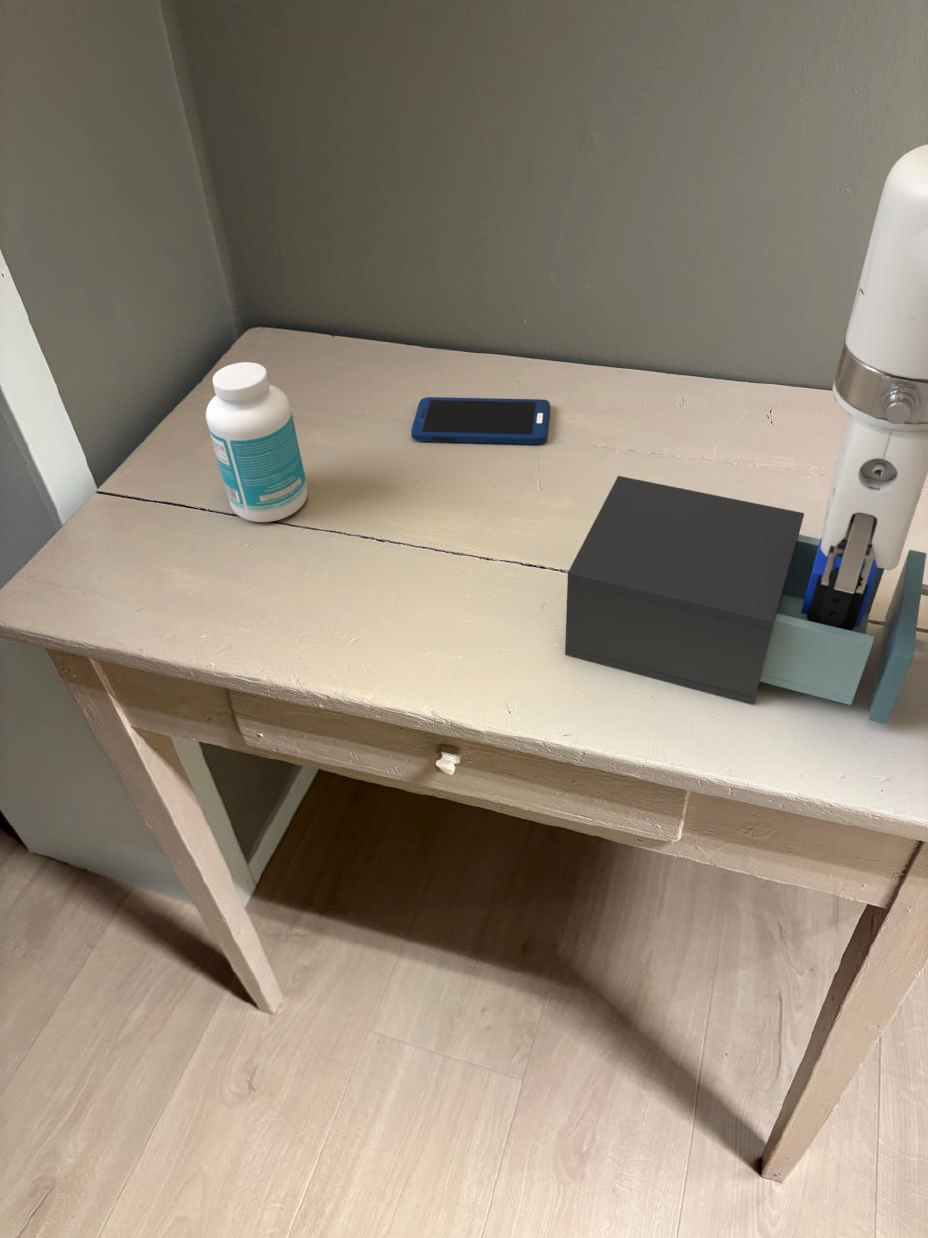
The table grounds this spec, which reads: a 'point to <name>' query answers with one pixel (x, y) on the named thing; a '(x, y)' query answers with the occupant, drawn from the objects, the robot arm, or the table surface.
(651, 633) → the dark grey drawer cabinet
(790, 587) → the drawer
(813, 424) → the table surface
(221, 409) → the pill bottle
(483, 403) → the cell phone
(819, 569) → the blue block
